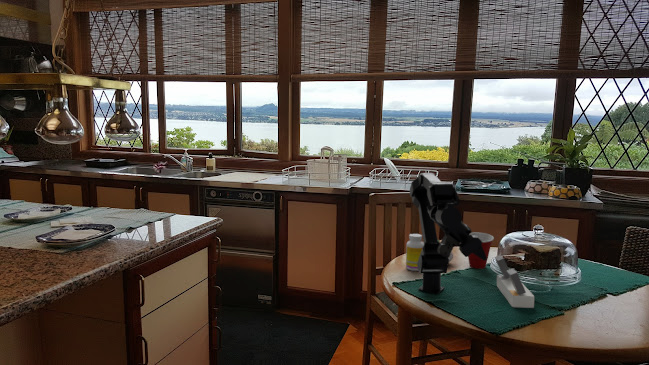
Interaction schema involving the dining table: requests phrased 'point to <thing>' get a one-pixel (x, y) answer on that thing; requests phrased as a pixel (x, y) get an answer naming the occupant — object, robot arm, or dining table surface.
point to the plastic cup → (487, 240)
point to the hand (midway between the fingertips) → (485, 259)
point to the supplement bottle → (413, 251)
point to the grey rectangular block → (516, 281)
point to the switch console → (515, 293)
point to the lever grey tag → (502, 266)
